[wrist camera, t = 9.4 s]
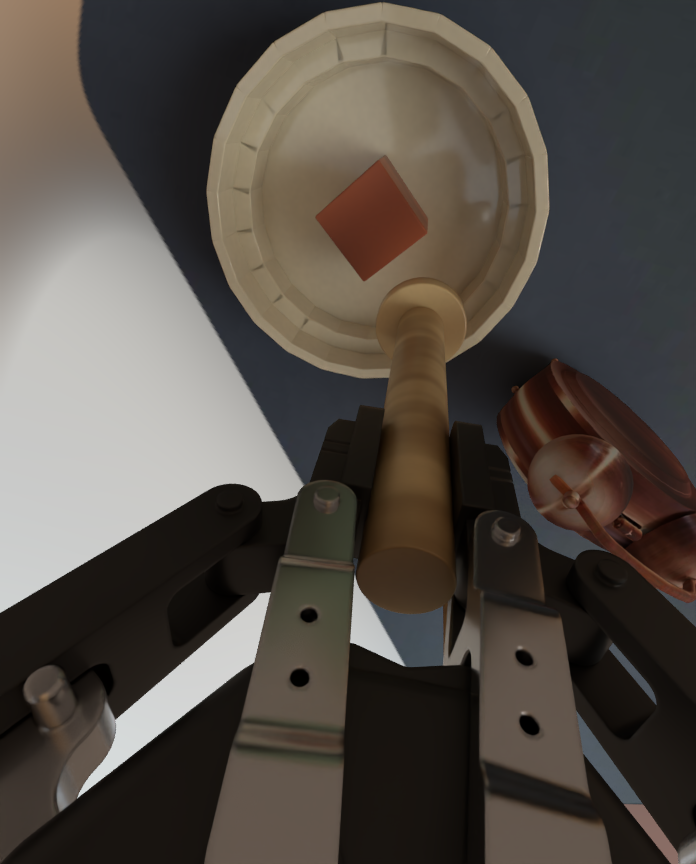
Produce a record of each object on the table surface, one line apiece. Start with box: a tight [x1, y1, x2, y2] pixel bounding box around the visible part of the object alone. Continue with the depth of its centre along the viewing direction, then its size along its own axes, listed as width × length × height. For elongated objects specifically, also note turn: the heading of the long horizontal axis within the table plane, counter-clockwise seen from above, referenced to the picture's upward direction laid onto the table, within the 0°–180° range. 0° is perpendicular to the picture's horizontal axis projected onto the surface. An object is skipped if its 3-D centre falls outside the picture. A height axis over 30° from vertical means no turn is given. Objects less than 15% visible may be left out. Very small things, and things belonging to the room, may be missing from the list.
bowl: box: [206, 2, 549, 378], centre depth 25 cm, size 16×16×5 cm
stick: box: [356, 277, 467, 614], centre depth 16 cm, size 4×4×15 cm
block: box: [315, 155, 428, 281], centre depth 25 cm, size 4×4×4 cm
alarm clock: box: [497, 359, 696, 603], centre depth 26 cm, size 11×5×15 cm, turn 56°
